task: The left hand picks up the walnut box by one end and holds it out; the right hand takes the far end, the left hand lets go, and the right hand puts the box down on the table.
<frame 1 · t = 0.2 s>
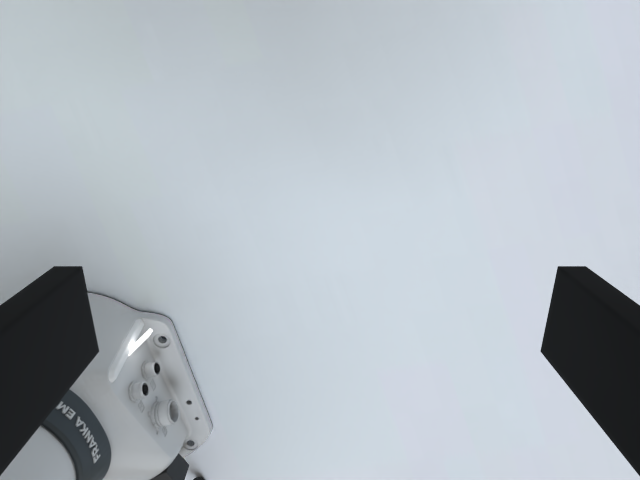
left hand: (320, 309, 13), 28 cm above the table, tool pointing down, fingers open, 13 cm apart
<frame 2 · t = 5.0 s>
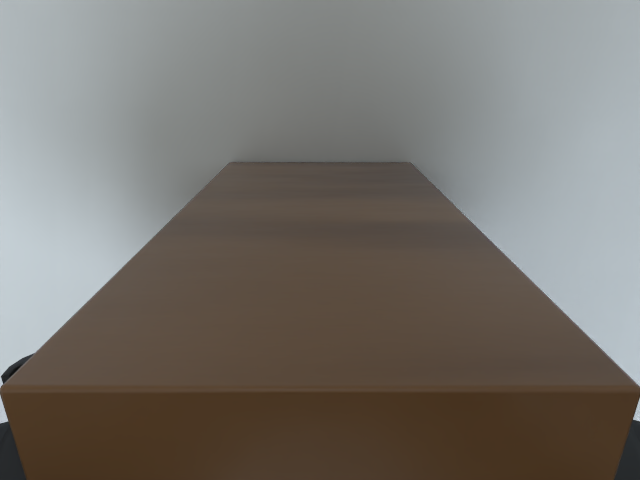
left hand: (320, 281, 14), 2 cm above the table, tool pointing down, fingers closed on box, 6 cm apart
box: (319, 433, 18), on the table, touching left hand
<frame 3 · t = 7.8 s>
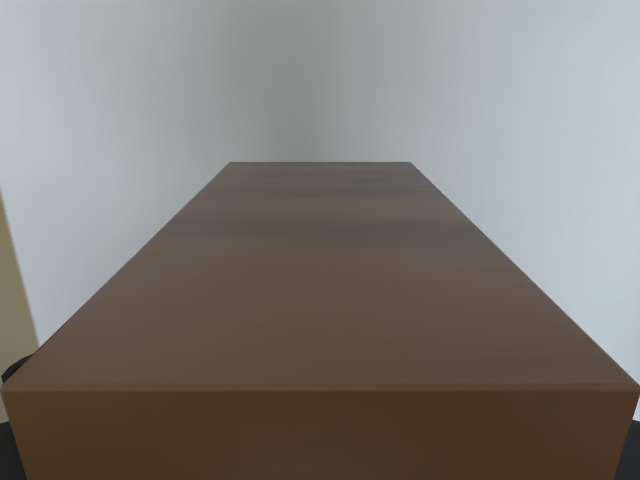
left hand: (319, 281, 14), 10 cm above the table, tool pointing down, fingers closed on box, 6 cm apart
box: (320, 432, 18), point 9 cm above the table, touching left hand
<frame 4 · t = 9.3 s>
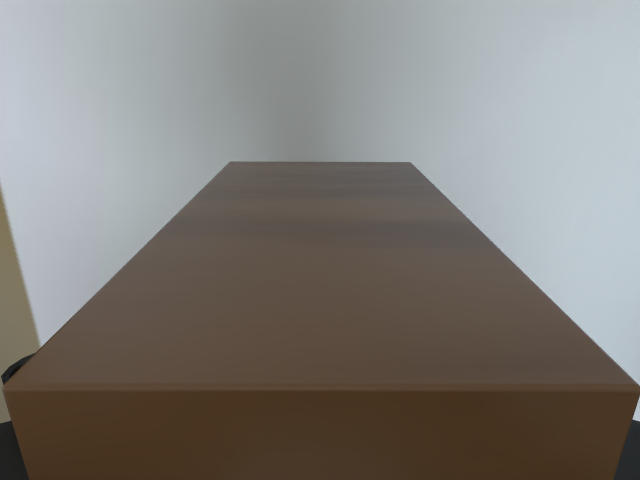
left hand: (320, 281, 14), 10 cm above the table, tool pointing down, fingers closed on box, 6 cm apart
box: (319, 432, 18), point 9 cm above the table, touching left hand, right hand
when the left hand's fingers open (10 cm above the table, at t = 10.4 s): box stays where it is, held by the right hand.
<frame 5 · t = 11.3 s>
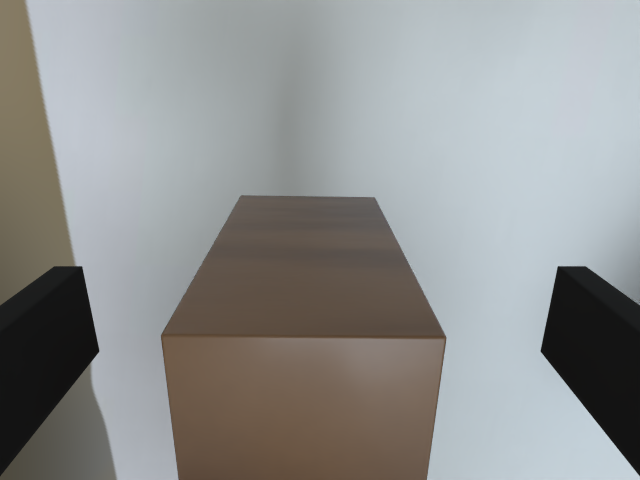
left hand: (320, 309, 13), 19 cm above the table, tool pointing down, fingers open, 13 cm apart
box: (305, 402, 23), point 11 cm above the table, touching right hand
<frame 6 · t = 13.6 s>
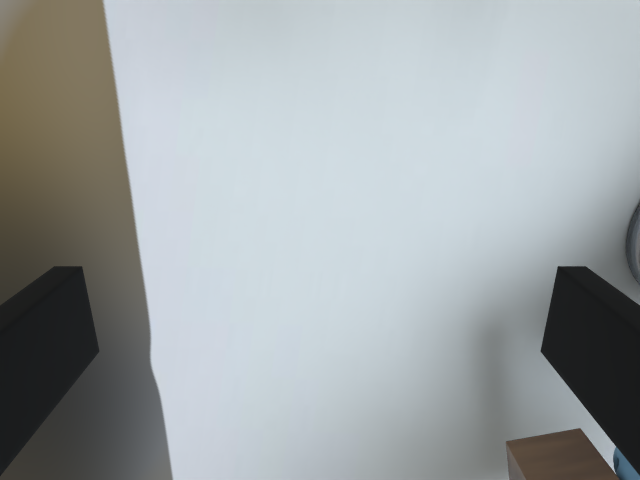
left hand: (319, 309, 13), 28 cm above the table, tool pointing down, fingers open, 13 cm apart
when the right hand's fingers open (7 cm above the table, at t = 18.1 s): box stays where it is, on the table.
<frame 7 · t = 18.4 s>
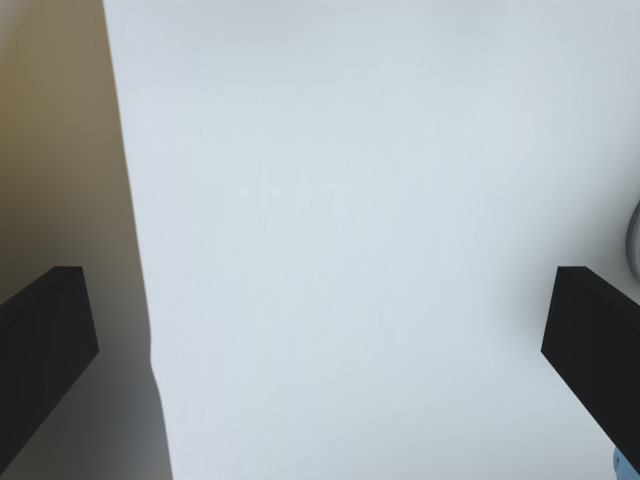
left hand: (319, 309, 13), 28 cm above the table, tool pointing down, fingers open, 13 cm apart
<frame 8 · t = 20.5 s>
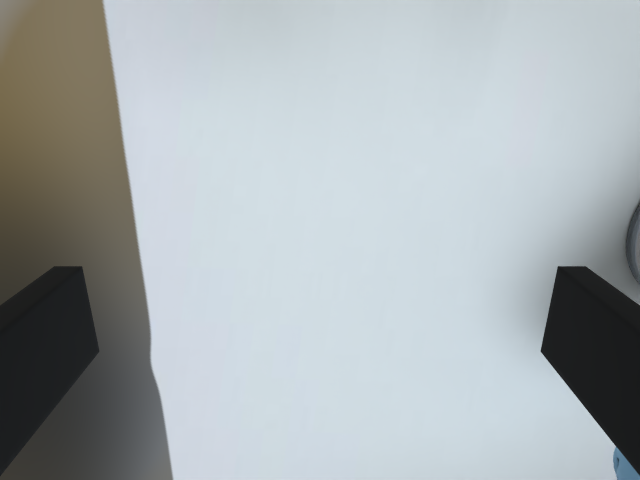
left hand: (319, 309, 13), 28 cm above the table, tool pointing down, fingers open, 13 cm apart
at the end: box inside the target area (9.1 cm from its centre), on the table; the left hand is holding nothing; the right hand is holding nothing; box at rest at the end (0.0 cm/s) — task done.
